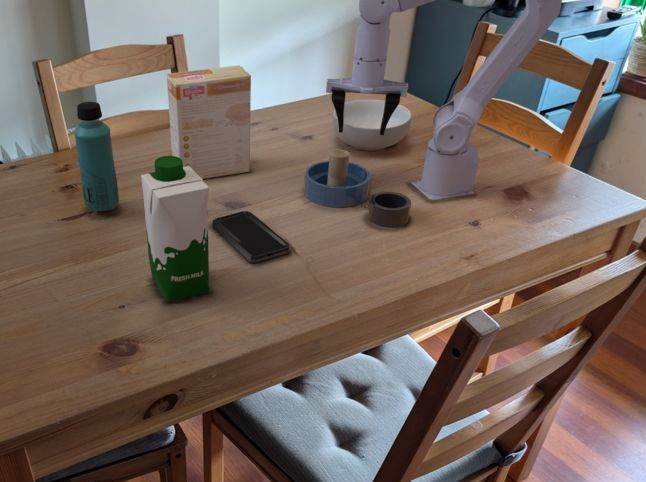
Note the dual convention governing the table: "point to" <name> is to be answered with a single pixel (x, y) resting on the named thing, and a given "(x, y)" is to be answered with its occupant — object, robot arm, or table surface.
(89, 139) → the beverage bottle
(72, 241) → the table surface
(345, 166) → the pestle
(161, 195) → the milk carton
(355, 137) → the cereal bowl
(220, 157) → the coffeecake box
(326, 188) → the bowl
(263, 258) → the phone
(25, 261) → the table surface
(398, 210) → the mortar
